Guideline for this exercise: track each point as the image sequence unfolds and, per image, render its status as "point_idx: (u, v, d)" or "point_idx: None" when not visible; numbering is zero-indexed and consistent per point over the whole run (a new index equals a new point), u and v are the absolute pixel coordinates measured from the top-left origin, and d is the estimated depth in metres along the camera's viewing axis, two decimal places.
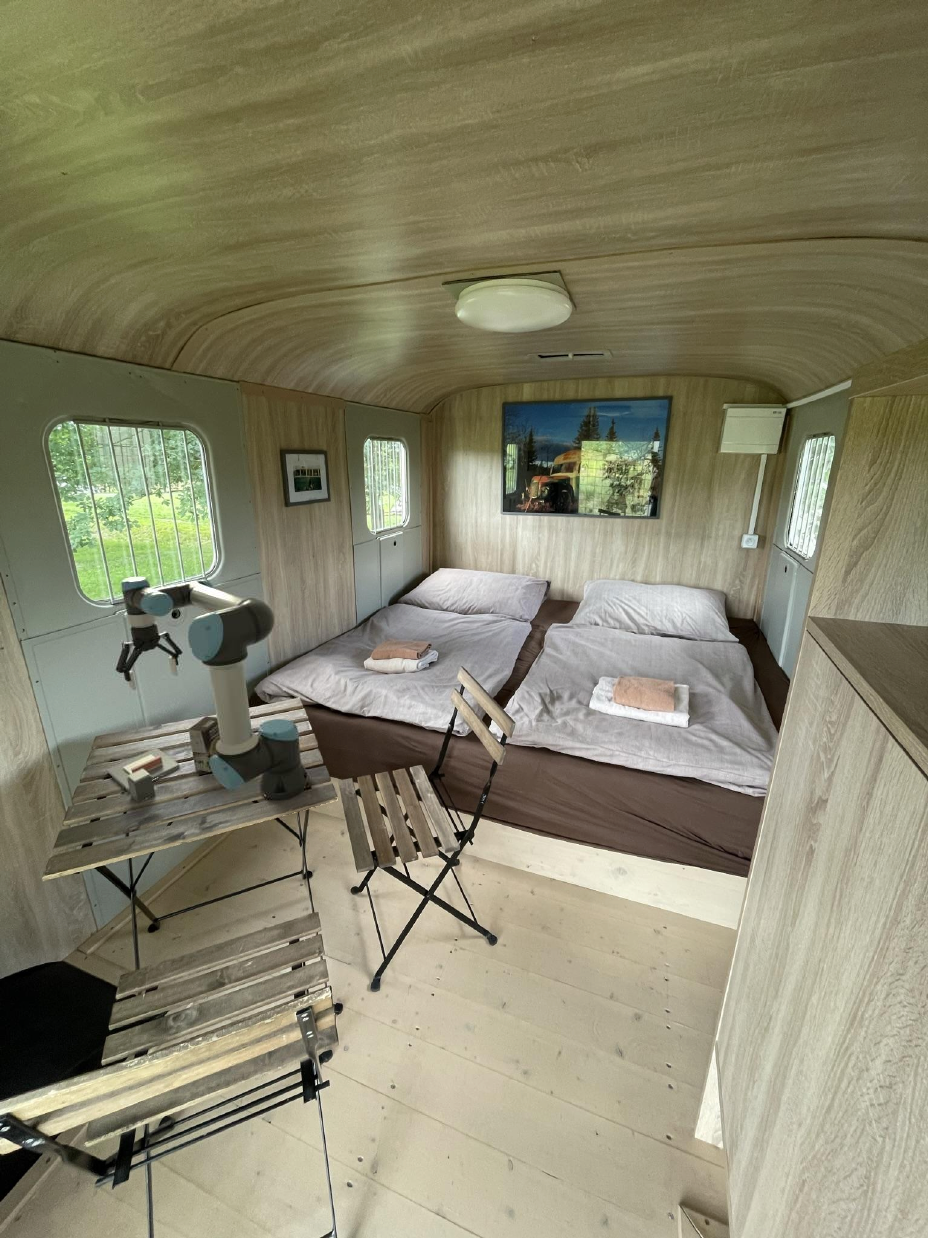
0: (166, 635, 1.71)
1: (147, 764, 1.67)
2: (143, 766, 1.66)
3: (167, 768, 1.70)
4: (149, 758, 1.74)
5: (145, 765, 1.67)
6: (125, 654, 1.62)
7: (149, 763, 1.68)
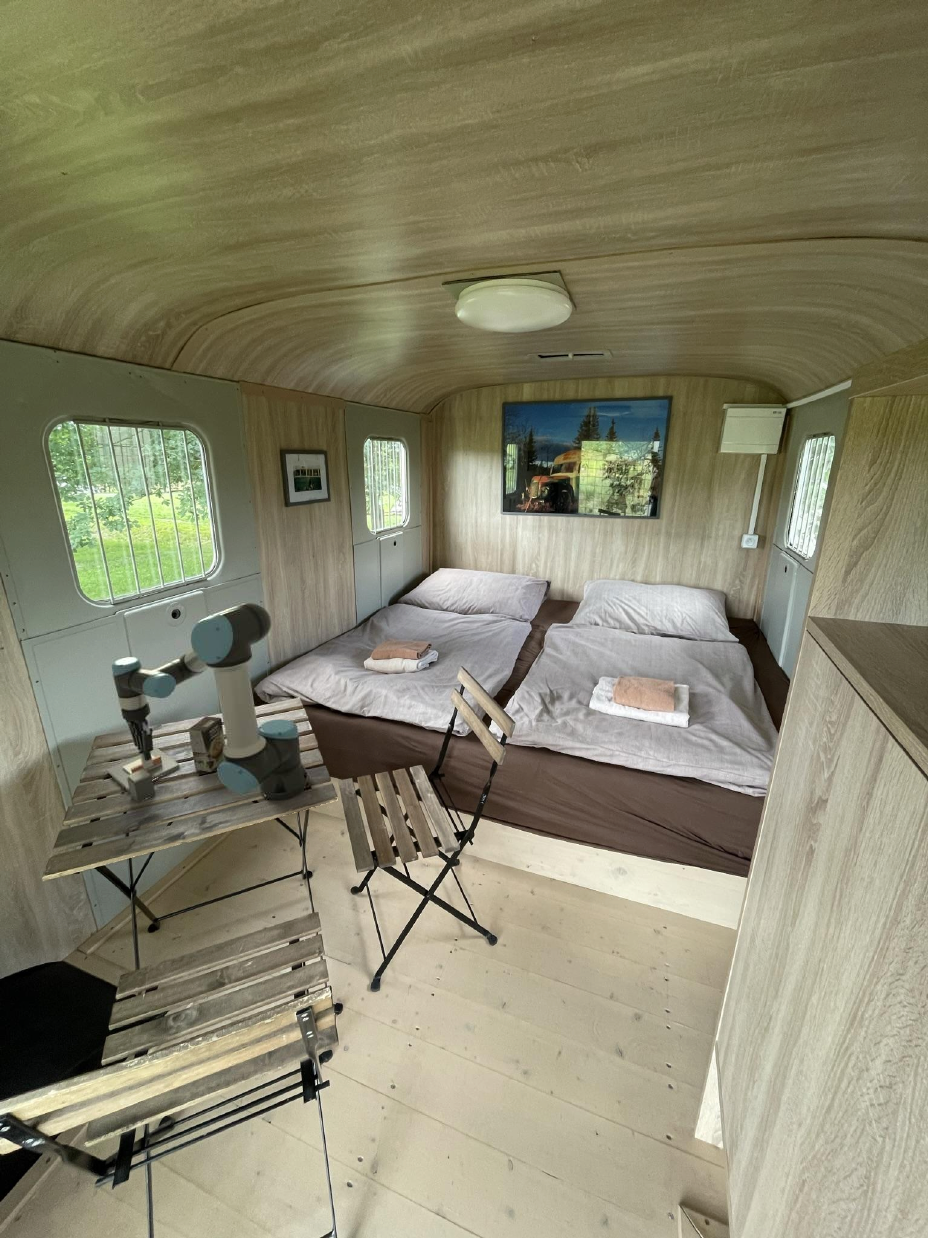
0: (143, 732, 1.58)
1: None
2: None
3: (167, 768, 1.70)
4: None
5: None
6: (130, 729, 1.64)
7: None
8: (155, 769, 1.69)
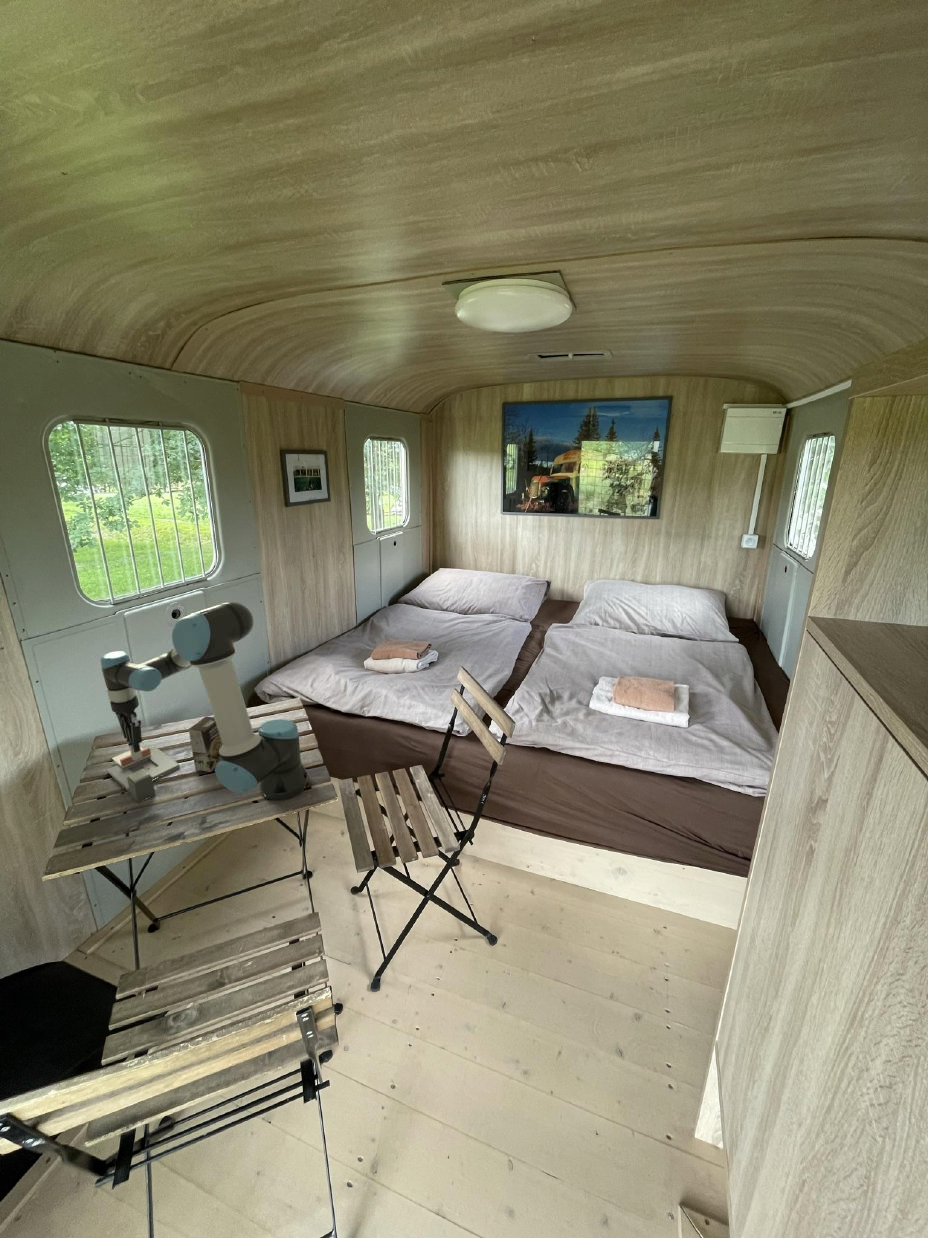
0: (131, 724, 1.62)
1: None
2: None
3: (167, 768, 1.70)
4: None
5: None
6: (119, 721, 1.69)
7: None
8: (155, 769, 1.69)
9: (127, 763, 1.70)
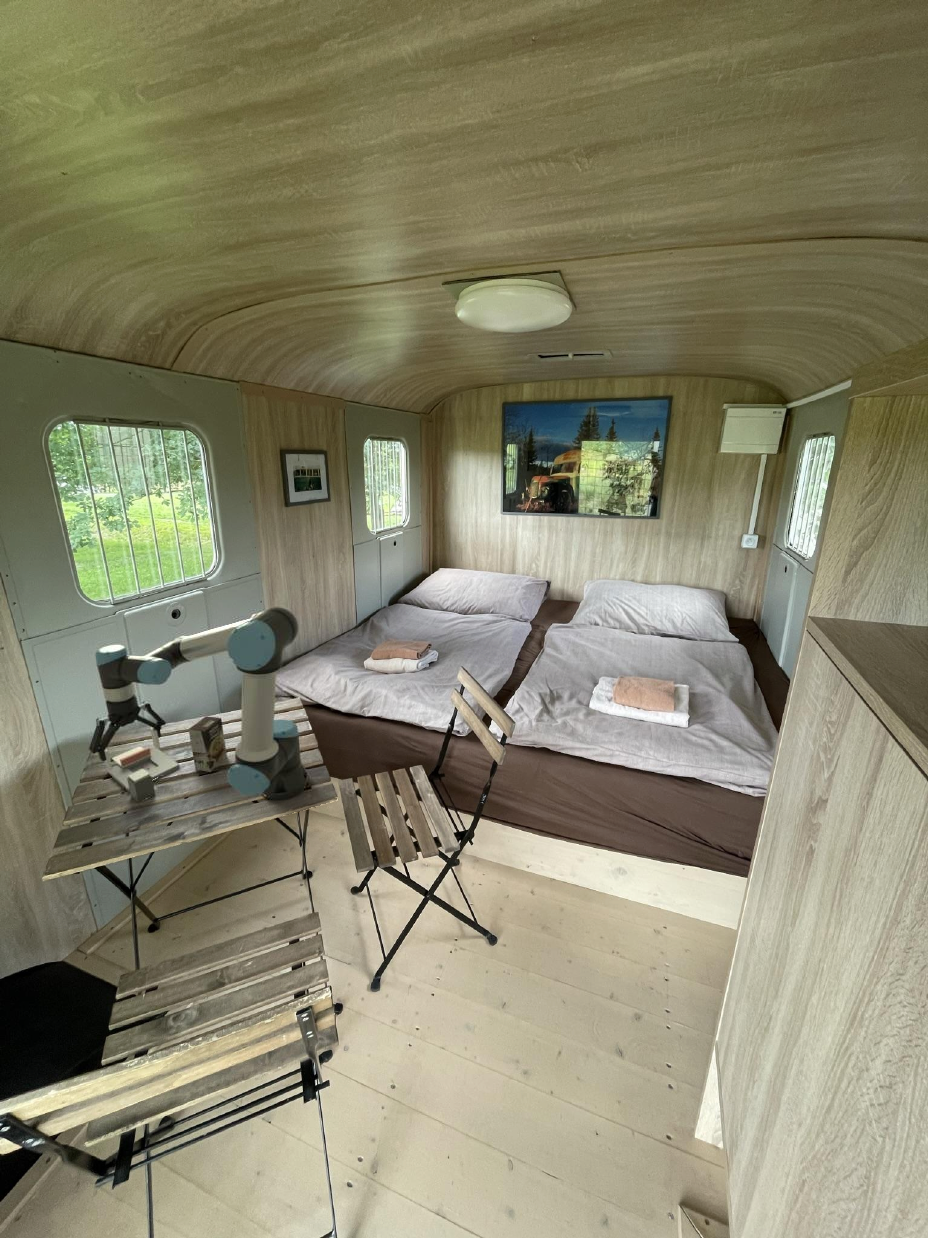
0: (147, 706, 1.53)
1: (135, 755, 1.72)
2: (132, 757, 1.71)
3: (167, 768, 1.70)
4: (138, 749, 1.78)
5: (134, 756, 1.71)
6: (99, 732, 1.44)
7: (137, 754, 1.72)
8: (155, 769, 1.69)
9: (127, 763, 1.70)
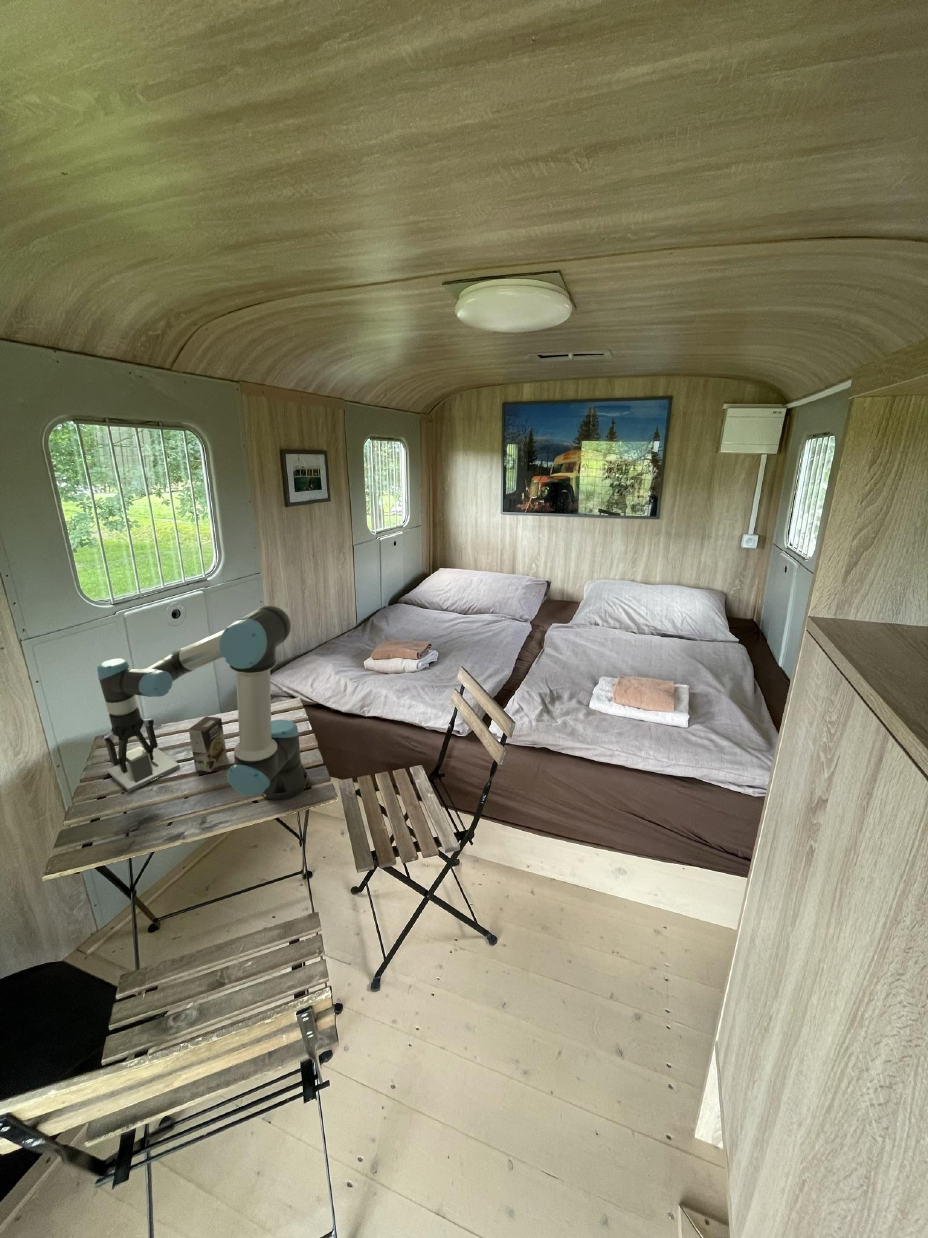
0: (150, 722, 1.55)
1: None
2: None
3: (167, 768, 1.70)
4: None
5: None
6: (111, 748, 1.47)
7: None
8: (155, 769, 1.69)
9: None
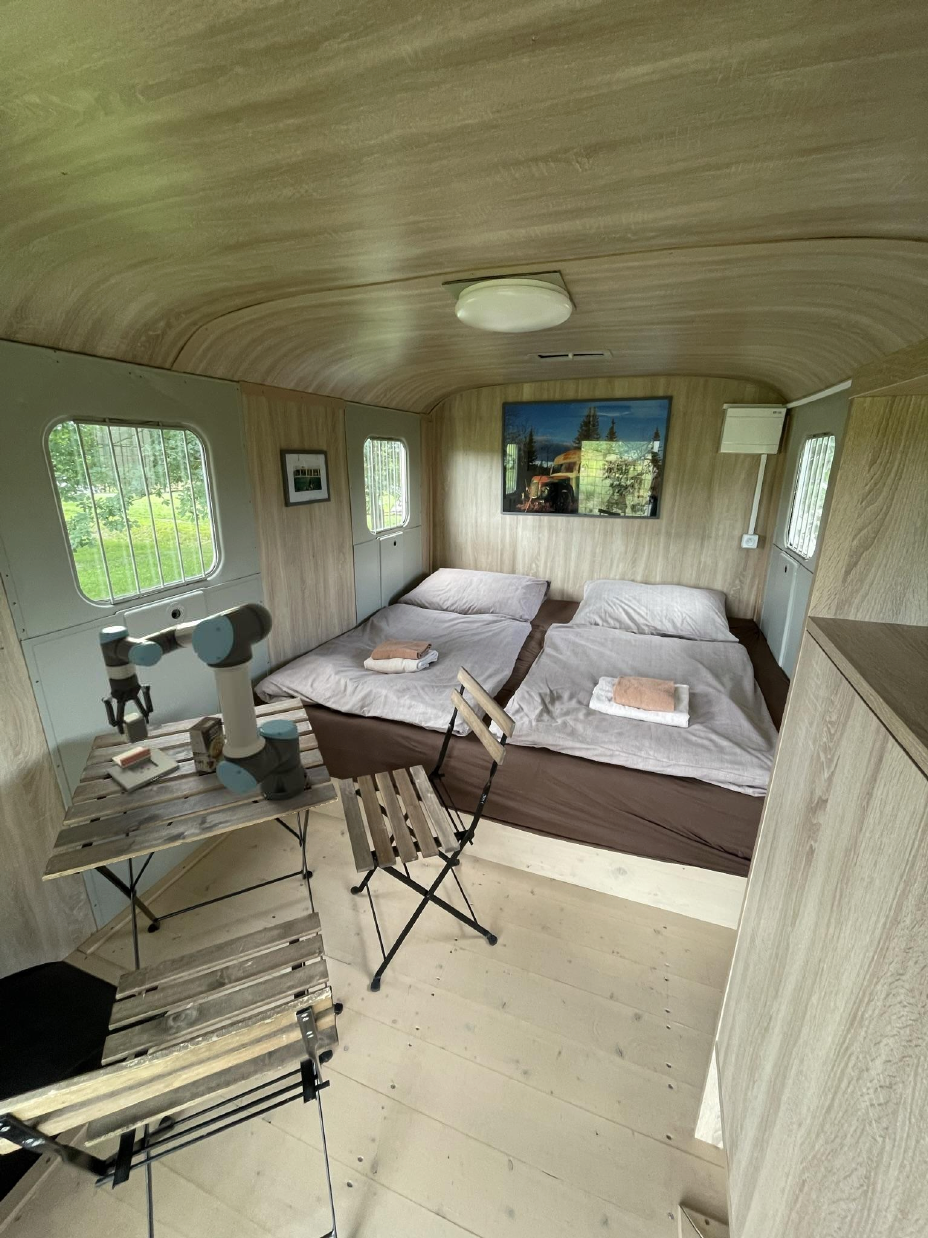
0: (147, 688, 1.65)
1: (135, 755, 1.72)
2: (132, 757, 1.71)
3: (167, 768, 1.70)
4: (138, 749, 1.78)
5: (134, 756, 1.71)
6: (109, 710, 1.57)
7: (137, 754, 1.72)
8: (155, 769, 1.69)
9: (127, 763, 1.70)
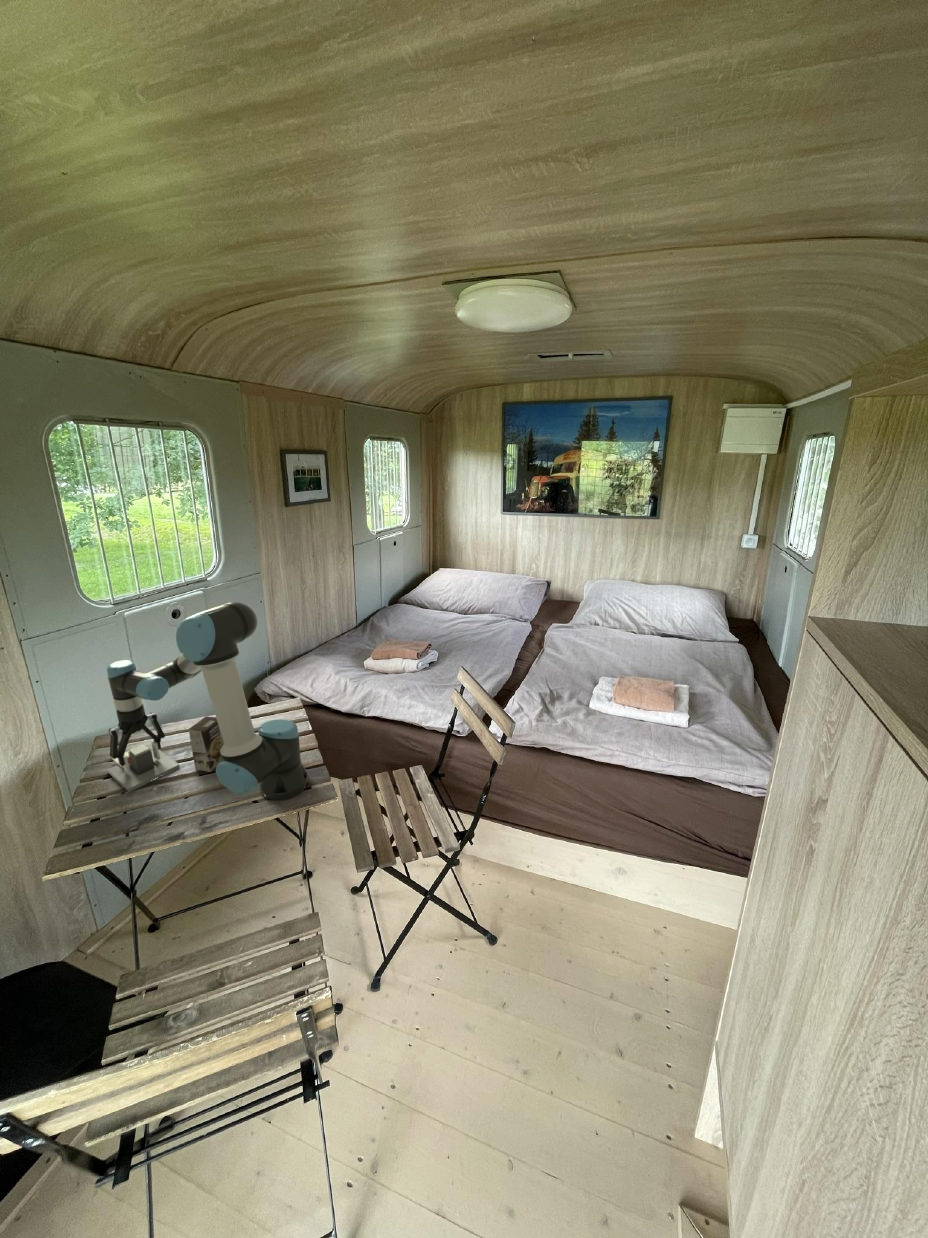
0: (154, 717, 1.68)
1: None
2: None
3: (167, 768, 1.70)
4: None
5: None
6: (114, 741, 1.60)
7: None
8: (155, 769, 1.69)
9: None
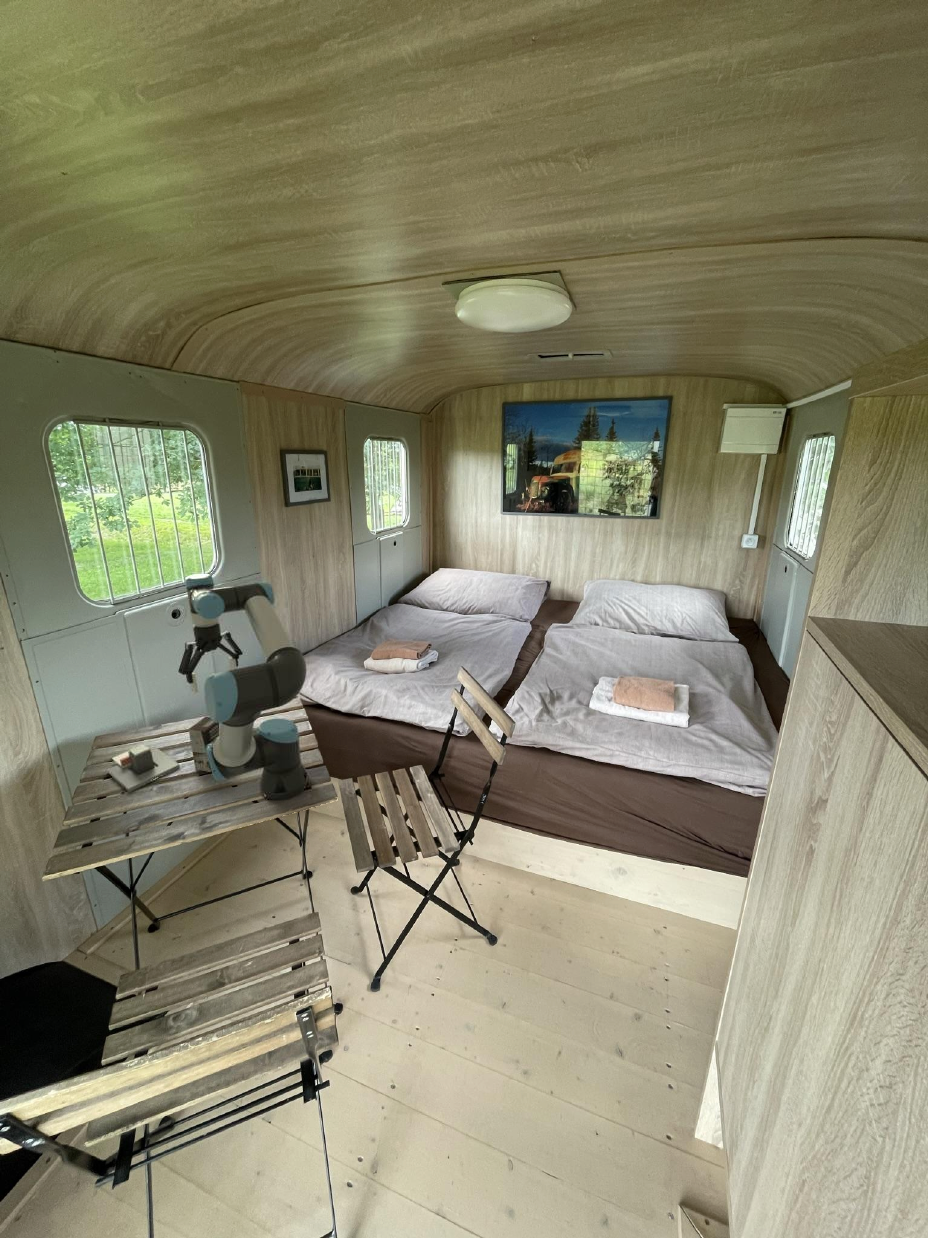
0: (228, 635, 1.63)
1: None
2: None
3: (167, 768, 1.70)
4: None
5: None
6: (188, 655, 1.54)
7: None
8: (155, 769, 1.69)
9: (127, 763, 1.70)
